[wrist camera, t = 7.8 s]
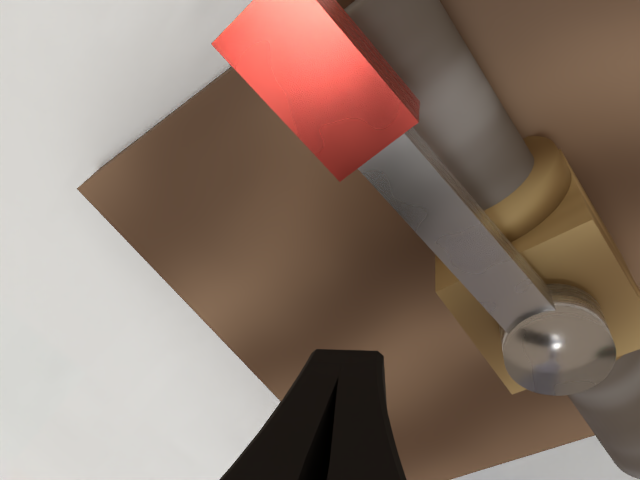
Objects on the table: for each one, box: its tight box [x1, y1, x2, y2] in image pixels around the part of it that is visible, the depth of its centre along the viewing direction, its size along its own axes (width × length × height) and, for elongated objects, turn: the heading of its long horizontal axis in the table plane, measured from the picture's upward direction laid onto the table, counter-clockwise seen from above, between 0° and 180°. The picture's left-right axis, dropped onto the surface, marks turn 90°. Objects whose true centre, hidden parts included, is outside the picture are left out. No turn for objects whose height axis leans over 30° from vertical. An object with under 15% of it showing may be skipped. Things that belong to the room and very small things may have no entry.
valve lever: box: [212, 0, 616, 396], centre depth 13 cm, size 2×11×1 cm, turn 43°
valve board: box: [77, 0, 640, 480], centre depth 17 cm, size 18×23×6 cm
